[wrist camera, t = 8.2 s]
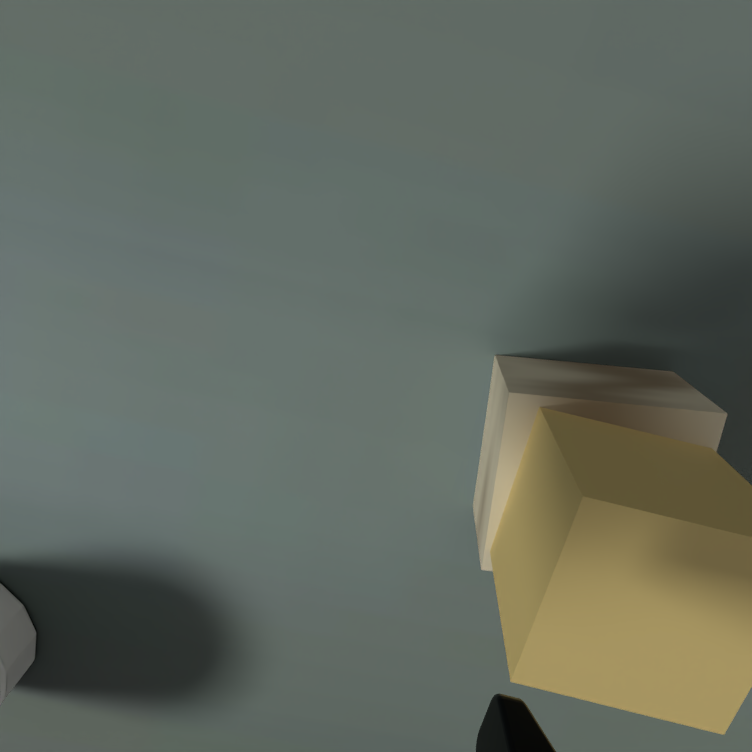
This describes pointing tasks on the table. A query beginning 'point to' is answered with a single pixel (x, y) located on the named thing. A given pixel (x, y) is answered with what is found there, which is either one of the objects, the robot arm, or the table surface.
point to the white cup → (14, 642)
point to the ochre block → (627, 572)
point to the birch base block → (581, 398)
